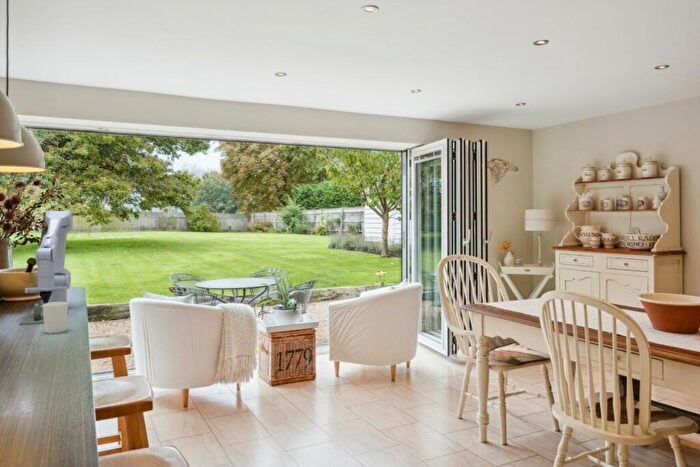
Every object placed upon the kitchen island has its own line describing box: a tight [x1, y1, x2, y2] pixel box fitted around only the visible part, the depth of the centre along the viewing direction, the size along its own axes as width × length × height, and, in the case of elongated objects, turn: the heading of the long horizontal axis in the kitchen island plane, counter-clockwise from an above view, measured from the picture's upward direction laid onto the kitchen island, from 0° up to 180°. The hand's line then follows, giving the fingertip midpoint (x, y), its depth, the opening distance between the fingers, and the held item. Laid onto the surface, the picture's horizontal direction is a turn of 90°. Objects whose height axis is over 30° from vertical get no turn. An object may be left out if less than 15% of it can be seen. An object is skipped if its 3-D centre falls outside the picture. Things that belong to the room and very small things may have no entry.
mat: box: [18, 312, 44, 326], centre depth 204 cm, size 22×14×1 cm, turn 23°
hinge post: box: [33, 303, 41, 321], centre depth 197 cm, size 2×2×7 cm
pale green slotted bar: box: [40, 301, 61, 319], centre depth 206 cm, size 14×2×5 cm, turn 179°
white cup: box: [42, 301, 69, 334], centre depth 182 cm, size 8×8×10 cm
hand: (46, 309), depth 206 cm, fingers closed, pressing on pale green slotted bar
